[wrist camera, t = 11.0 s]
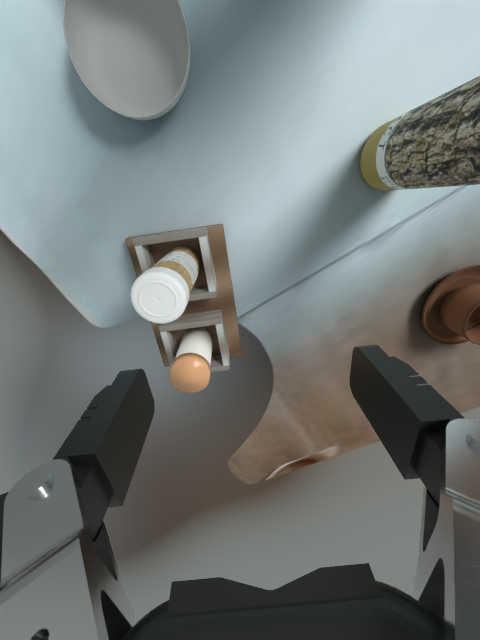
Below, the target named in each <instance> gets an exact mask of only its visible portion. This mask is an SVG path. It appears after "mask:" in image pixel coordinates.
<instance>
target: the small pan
mask: <svg viewBox="0 0 480 640" xmlns="http://www.w3.org/2000/svg"><path fill="white" fill-rule="evenodd" d="M63 27H64V35H65V41H66V45H67V49H68V53H69V55H70V58H71V60H72V63H73V66H74V68H75V70H76V71H77V73H78V75H79V77H80V79H81V80H82V82H83V83H84V85H85V86H86V87H87V89H88V90H89V91H90V92H91V93H92V94H93V95H94V97H95V98H96V99H97V100H99V101H100V102H101V103H102V104H104V105H105V106H106V107H107V108H109V109H111V110H113V111H114V112H116V113H118V114H120V115H122V116H125V117H128V118H131V119H136V120H152V119H155V118H158V117H161V116H162V115H164V114H166V113H167V112H169V111H170V110H171V109H172V108H173V107H174V106H175V105H176V104H177V102H178V101H179V100H180V98H181V96H182V94H183V92H184V90H185V87H186V84H187V81H188V77H189V71H190V41H189V33H188V28H187V23H186V19H185V15H184V13H183V10H182V7H181V5H180V2H179V0H64V7H63Z"/></svg>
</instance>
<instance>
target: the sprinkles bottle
mask: <svg viewBox="0 0 480 640" xmlns="http://www.w3.org/2000/svg"><path fill="white" fill-rule="evenodd" d="M200 269H201V261H200V258H199V256H198V254H197V253H196V252H195V251H194V250H193V249H191V248H189V247H185V246H178V247H175V248H173V249H172V250H170V251H169V253H168V254H167V255H165V256H164V257H163V258H162V259H161V260H160V261H158V262H157V263H156V264H155V265H154V266H153V267H152V268H150V269H148V270H146V271H145V272H143V273H142V274H141V275H140V276H139V277H138V278H137V279H136V280H135V282H134V283H133V285H132V288H131V293H130V297H131V302H132V305H133V307H134V309H135V310H136V312H137V313H138V314H139V315H140V316H141V317H143V318H144V319H146V320H148V321H150V322H153V323H158V324H165V323H170V322H172V321H174V320H176V319H178V318H179V317H180V316H181V315H182V314H183V312H184V310H185V308H186V306H187V304H188V301H189V294H190V292H191V289H192V288H193V286H194V284H195V281H196V279H197V276H198V274H199V272H200Z"/></svg>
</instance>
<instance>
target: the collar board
mask: <svg viewBox="0 0 480 640" xmlns="http://www.w3.org/2000/svg"><path fill="white" fill-rule="evenodd" d="M125 240H126V243H127V246H128V249H129V253H130V256H131V259H132V262H133V266H134V269H135V272H136V275H137V278H138V277H139V276H140V275H141V274H142V273H143V272H145V271H146V270H148V269H150V268H152V267H153V266H154V265H155V264H156V263H157V262H158V261H160V260H161V259H162V258H163V257H164V256H165V255H167V254H168V253H169V251H170V250H172V249H173V248H175V247H178V246H185V247H189V248H191V249H193V250H194V251H195V252H196V253H197V254H198V256H199V258H200V261H201V269H200V272H199V274H198V276H197V279H196V281H195V284H194V286H193V288H192V289H191V292H190V294H189V301H188V304H187V306H186V308H185V310H184V312H183V314H182V315H181V316H180V317H179V318H178V319H176V320H174V321H172V322H170V323H165V324H158V323H153V322H151V324H152V327H153V330H154V333H155V336H156V339H157V343H158V346H159V350H160V353H161V356H162V359H163V363H164V366H170V367H171V366H172V363H173V361H174V360H175V357H176V354H177V352H178V349H179V346H180V343H181V340H182V337H183V334H184V332H185V331H186V329H188V328H196V327H203V326H204V327H206V328H208V329H209V330H210V331H211V333H212V335H213V347H212V355H211V364H210V368H211V371H210V372H218V371H226V370H230V358H233V357H241V356H242V348H241V341H240V335H239V328H238V322H237V315H236V308H235V302H234V295H233V289H232V282H231V275H230V269H229V262H228V256H227V249H226V242H225V236H224V229H223V224H217V225H210V226H204V227H197V228H190V229H183V230H176V231H169V232H162V233H155V234H148V235H141V236H134V237H128V238H125Z"/></svg>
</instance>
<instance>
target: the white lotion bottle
mask: <svg viewBox="0 0 480 640" xmlns="http://www.w3.org/2000/svg"><path fill="white" fill-rule="evenodd" d="M212 347H213V335H212V333H211V331H210V330H209V329H208V328H206V327H204V326H203V327H196V328H188V329H186V331H185V332H184V334H183V337H182V340H181V343H180V346H179V349H178V352H177V354H176V357H175V360H174V361H173V363H172V366H171V369H170V372H169V379H170V382H171V383H172V385H173V386H174V387H175V388H177V389H178V390H180V391H183V392H187V393H194V392H198V391H201V390H202V389H204V388H205V387H206V386H207V385H208V382H209V379H210V371H211V368H210V364H211V355H212Z"/></svg>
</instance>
